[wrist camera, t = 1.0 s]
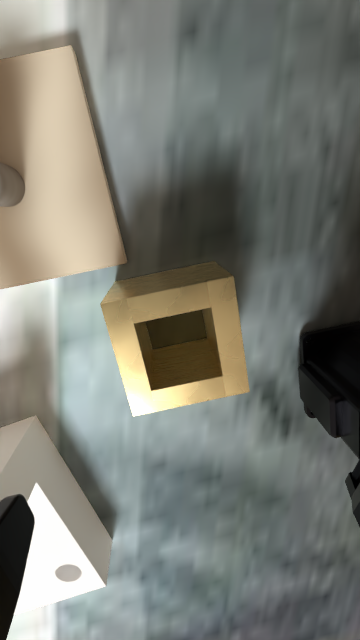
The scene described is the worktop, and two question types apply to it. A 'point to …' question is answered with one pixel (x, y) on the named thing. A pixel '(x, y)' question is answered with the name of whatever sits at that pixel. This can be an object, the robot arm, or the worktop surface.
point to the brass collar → (181, 359)
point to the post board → (51, 174)
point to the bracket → (52, 519)
